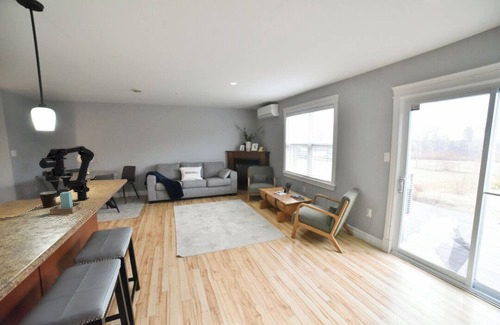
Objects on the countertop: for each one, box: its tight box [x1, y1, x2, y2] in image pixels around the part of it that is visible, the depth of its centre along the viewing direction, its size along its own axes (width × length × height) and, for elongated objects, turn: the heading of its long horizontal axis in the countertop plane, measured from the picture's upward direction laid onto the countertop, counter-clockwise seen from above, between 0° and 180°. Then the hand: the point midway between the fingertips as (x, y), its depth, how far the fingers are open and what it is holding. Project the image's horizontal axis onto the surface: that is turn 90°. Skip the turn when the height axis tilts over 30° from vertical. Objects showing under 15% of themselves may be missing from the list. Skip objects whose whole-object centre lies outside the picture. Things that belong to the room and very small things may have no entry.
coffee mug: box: [39, 190, 58, 209], centre depth 146 cm, size 12×9×10 cm
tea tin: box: [59, 191, 74, 209], centre depth 136 cm, size 5×5×12 cm
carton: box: [47, 202, 85, 217], centre depth 136 cm, size 18×12×4 cm
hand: (61, 188), depth 144 cm, fingers open, 9 cm apart
